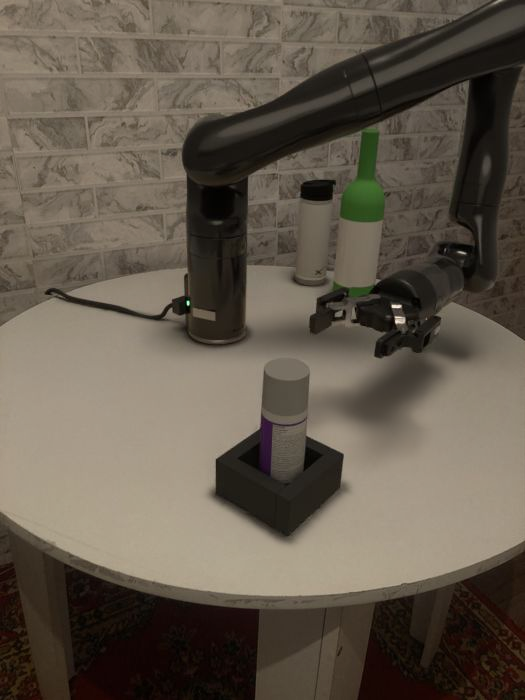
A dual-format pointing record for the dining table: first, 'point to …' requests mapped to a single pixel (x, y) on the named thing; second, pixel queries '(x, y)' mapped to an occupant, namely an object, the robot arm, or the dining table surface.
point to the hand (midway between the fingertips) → (343, 337)
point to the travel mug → (314, 231)
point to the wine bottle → (360, 224)
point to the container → (284, 418)
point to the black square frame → (278, 483)
